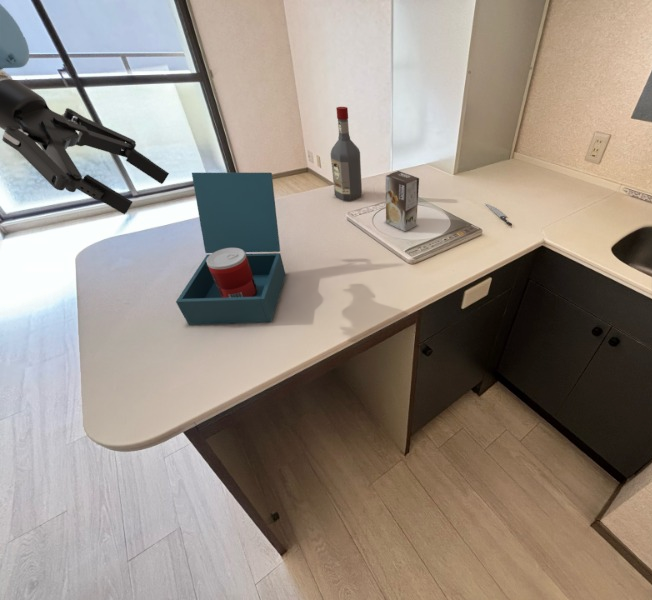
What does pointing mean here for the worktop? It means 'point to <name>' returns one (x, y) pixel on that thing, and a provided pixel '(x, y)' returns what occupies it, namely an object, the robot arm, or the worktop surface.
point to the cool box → (210, 308)
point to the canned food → (232, 273)
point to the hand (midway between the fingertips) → (148, 192)
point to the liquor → (346, 162)
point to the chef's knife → (499, 214)
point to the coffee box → (401, 200)
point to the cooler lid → (237, 211)
